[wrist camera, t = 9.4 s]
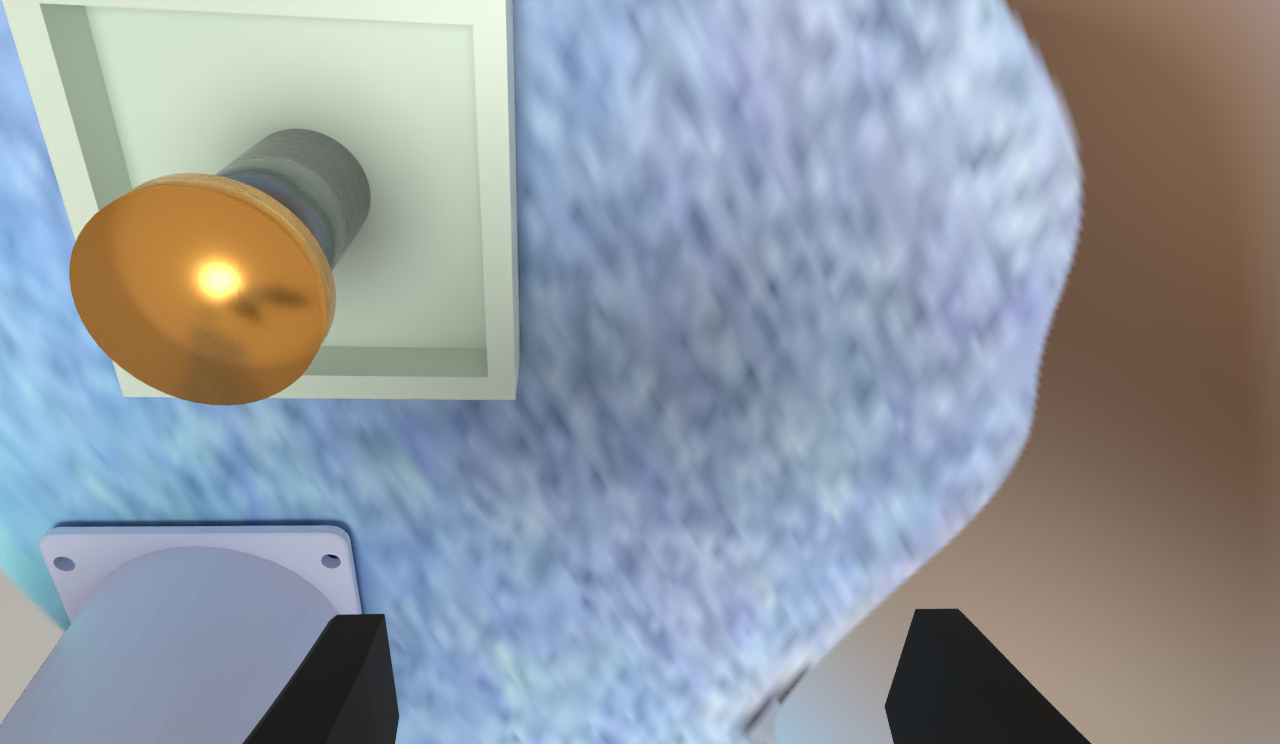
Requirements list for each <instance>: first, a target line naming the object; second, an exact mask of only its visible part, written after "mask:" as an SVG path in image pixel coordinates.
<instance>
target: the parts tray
mask: <svg viewBox="0 0 1280 744" xmlns="http://www.w3.org/2000/svg"><path fill="white" fill-rule="evenodd" d="M2 2H3V6H4V9H5V12H6V15H7V19H8V22H9V25H10V28H11V32H12V35H13V38H14V41H15V45H16V48H17V51H18V54H19V58H20V61H21V64H22V67H23V71H24V74H25V77H26V81H27V84H28V87H29V90H30V94H31V97H32V100H33V103H34V107H35V110H36V113H37V116H38V120H39V123H40V126H41V129H42V133H43V136H44V139H45V142H46V146H47V149H48V152H49V156H50V159H51V162H52V165H53V169H54V172H55V175H56V178H57V182H58V185H59V188H60V191H61V195H62V198H63V201H64V204H65V208H66V211H67V214H68V217H69V221H70V224H71V227H72V231H73V234H74V237H75V240H77V237H78V236H79V234H80V232H81V231H82V229H83V228H84V226H85V225H86V223H87V222H88V221H89V220H90V219H91V218H92V217H93V216H94V215H95V214H96V213H97V212H99V211H100V210H101V209H102V208H104V207H105V206H106V205H108V204H109V203H111V202H113V201H114V200H116V199H117V198H119V197H121V196H122V195H124V194H125V193H127V192H128V191H130V190H132V189H133V188H135V187H137V186H139V185H141V184H143V183H144V182H147V181H149V180H152V179H155V178H158V177H162V176H167V175H172V174H181V173H201V174H211V175H215V174H216V173H218V172H219V171H220V170H222V169H223V168H224V167H226V166H227V165H229V164H230V163H231V162H233V161H234V160H235V159H237V158H238V157H239V156H241V155H242V154H243V153H245V152H246V151H248V150H249V149H250V148H252V147H253V146H254V145H256V144H257V143H258V142H260V141H261V140H262V139H264V138H265V137H267V136H269V135H270V134H272V133H275V132H278V131H281V130H286V129H307V130H312V131H316V132H319V133H322V134H324V135H327V136H329V137H331V138H332V139H334V140H336V141H337V142H339V143H340V144H342V145H343V146H344V147H345V148H346V149H347V150H349V151H350V152H351V153H352V154H353V156H354V157H355V158H356V159H357V161H358V162H359V164H360V165H361V167H362V168H363V170H364V173H365V175H366V177H367V180H368V183H369V188H370V196H371V200H370V209H369V213H368V216H367V218H366V220H365V222H364V224H363V226H362V227H361V229H360V230H359V232H358V233H357V235H356V236H355V238H354V239H353V241H352V242H351V244H350V245H349V247H348V248H347V250H346V251H345V253H344V254H343V256H342V257H341V259H340V260H339V262H338V263H337V265H336V266H335V268H334V269H333V271H332V275H333V279H334V283H335V291H336V308H335V314H334V319H333V323H332V325H331V328H330V331H329V333H328V335H327V337H326V338H325V340H324V342H323V343H322V345H321V347H320V349H319V350H318V352H317V354H316V356H315V357H314V359H313V361H312V363H311V364H310V366H309V367H308V369H307V370H306V371H305V372H304V373H303V375H302V376H301V377H300V378H299V379H298V380H296V381H295V382H294V383H293V384H292V385H290V386H289V387H287V388H286V389H284V390H283V391H281V392H279V393H277V394H275V395H273V396H271V397H268V398H311V399H429V400H515V399H516V390H517V381H518V372H519V364H520V330H519V281H518V232H517V183H516V134H515V85H514V36H513V0H2ZM112 361H113V360H112ZM113 364H114V367H115V371H116V374H117V377H118V381H119V384H120V387H121V390H122V394H123V397H174V396H171V395H168V394H166V393H163V392H161V391H159V390H157V389H155V388H152V387H150V386H149V385H147V384H145V383H143V382H142V381H140V380H138V379H136V378H135V377H133V376H132V375H131V374H129V373H128V372H126V371H125V370H124V369H122V368H121V367H120V366H119V365H118V364H116V363H115V362H114V361H113Z"/></svg>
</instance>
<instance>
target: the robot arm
mask: <svg viewBox="0 0 1280 744" xmlns="http://www.w3.org/2000/svg"><path fill="white" fill-rule="evenodd" d="M39 546H40V551H41V553H42V555H43V558H44V560H45V563H46V565H47V568H48V570H49V572H50V575H51V577H52V580H53V582H54V584H55V587H56V589H57V592H58V594H59V597H60V599H61V601H62V604H63V606H64V609H65V611H66V614H67V616H68V618H69V621H70V623H71V625H70V626H69V628H68V629H67V630H66V632H65V633H64V635H63V636H62V638H61V639H60V640H59V642H58V643H57V645H56V646H55V647H54V649H53V650H52V652H51V653H50V655H49V656H48V657H47V659H46V660H45V662H44V663H43V665H42V666H41V667H40V669H39V670H38V672H37V673H36V674H35V676H34V677H33V679H32V680H31V682H30V683H29V685H28V686H27V687H26V689H25V690H24V692H23V693H22V694H21V696H20V697H19V699H18V700H17V701H16V703H15V704H14V706H13V707H12V709H11V710H10V711H9V713H8V714H7V716H6V717H5V719H4V720H3V721H2V723H1V724H0V744H395V740H396V733H397V727H398V720H399V712H398V705H397V698H396V691H395V684H394V677H393V670H392V663H391V656H390V649H389V642H388V635H387V628H386V622H385V615H384V614H362V610H361V604H360V597H359V591H358V585H357V579H356V572H355V566H354V560H353V554H352V547H351V541H350V538H349V535H348V533H346V532H345V531H344V530H343V529H341V528H339V527H337V526H330V525H318V526H143V527H57V528H53V529H51V530H49V531H48V532H47V533H46V534H45V535H44V537H43V538H42V539H41V541H40V543H39ZM328 554H331V555H335V556H337V557H339V558H337V559H334V558H330V557H329V556H327V555H328ZM65 557H67V558H69V559H71V560H72V561H70V560H68V559H66V558H65ZM885 710H886V714H887V718H888V722H889V726H890V730H891V734H892V738H893V742H894V744H1091V743H1090V742H1089V741H1088V740H1087V739H1086V738H1085V737H1084V736H1083V735H1082V734H1081V733H1080V732H1079V731H1077V729H1075V727H1074V726H1073V725H1072V724H1070V722H1069V721H1068V720H1067V719H1066V718H1065V717H1063V716H1062V715H1061V714H1060V713H1059V711H1058V710H1057V709H1055V707H1054V706H1053V705H1051V703H1050V702H1048V700H1046V698H1045V697H1044V696H1043V695H1042V694H1041V693H1040V692H1039V691H1038V690H1037V689H1036V688H1035V687H1034V686H1033V685H1032V684H1031V683H1030V682H1029V681H1028V680H1027V679H1026V678H1025V677H1024V676H1023V675H1022V674H1021V673H1020V672H1019V671H1018V670H1017V669H1016V668H1015V667H1014V666H1013V665H1012V664H1011V663H1010V662H1009V660H1007V659H1006V657H1005V656H1004V655H1003V654H1002V653H1001V652H1000V651H999V650H998V649H997V648H996V647H995V646H994V645H993V644H992V643H991V642H990V641H989V640H988V639H987V638H986V637H985V636H984V635H983V634H982V633H981V631H979V630H978V628H977V627H976V626H974V624H972V622H971V621H970V620H969V619H968V618H967V617H965V615H964V614H963V613H962V612H961V611H960V610H959V609H916V610H915V613H914V616H913V619H912V622H911V625H910V628H909V631H908V635H907V638H906V641H905V644H904V647H903V650H902V653H901V657H900V660H899V663H898V666H897V669H896V672H895V675H894V679H893V682H892V685H891V688H890V691H889V694H888V697H887V701H886V704H885Z"/></svg>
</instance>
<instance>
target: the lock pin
mask: <svg viewBox="0 0 1280 744" xmlns="http://www.w3.org/2000/svg"><path fill="white" fill-rule="evenodd" d="M370 200H371V196H370V188H369V183H368V180H367V177H366V175H365V173H364V170H363V168H362V167H361V165H360V164H359V162H358V161H357V159H356V158H355V157H354V156H353V154H352V153H351V152H350V151H349V150H347V149H346V148H345V147H344V146H343V145H342V144H340V143H339V142H337V141H336V140H334V139H332V138H331V137H329V136H327V135H324V134H322V133H319V132H316V131H312V130H307V129H286V130H281V131H278V132H275V133H272V134H270V135H269V136H267V137H265V138H264V139H262V140H261V141H260V142H258V143H257V144H256V145H254V146H253V147H252V148H250V149H249V150H248V151H246V152H245V153H243V154H242V155H241V156H239V157H238V158H237V159H235V160H234V161H233V162H231V163H230V164H229V165H227V166H226V167H224V168H223V169H222V170H220V171H219V172H218V173H216V174H215V175H211V174H201V173H181V174H172V175H167V176H162V177H158V178H155V179H152V180H149V181H147V182H144V183H143V184H141V185H139V186H137V187H135V188H133V189H132V190H130V191H128V192H127V193H125V194H124V195H122V196H121V197H119V198H117V199H116V200H114V201H113V202H111V203H109V204H108V205H106V206H105V207H104V208H102V209H101V210H100V211H99V212H97V213H96V214H95V215H94V216H93V217H92V218H91V219H90V220H89V221H88V222H87V223H86V225H85V226H84V228H83V229H82V231H81V232H80V234H79V236H78V237H77V240H76V242H75V245H74V247H73V251H72V255H71V260H70V285H71V292H72V296H73V299H74V303H75V306H76V309H77V311H78V313H79V315H80V318H81V320H82V322H83V323H84V325H85V327H86V329H87V330H88V332H89V334H90V335H91V336H92V338H93V339H94V340H95V342H96V343H97V344H98V345H99V347H100V348H101V349H102V350H103V351H104V352H105V353H106V354H107V355H108V356H109V357H110V358H111V359H112V360H113V361H114V362H115V363H116V364H118V365H119V366H120V367H121V368H122V369H124V370H125V371H126V372H128V373H129V374H131V375H132V376H133V377H135V378H136V379H138V380H140V381H142V382H143V383H145V384H147V385H149V386H150V387H152V388H155V389H157V390H159V391H161V392H163V393H166V394H168V395H171V396H174V397H177V398H180V399H184V400H188V401H192V402H196V403H203V404H211V405H237V404H245V403H251V402H256V401H259V400H262V399H265V398H268V397H271V396H273V395H275V394H277V393H279V392H281V391H283V390H284V389H286V388H287V387H289V386H290V385H292V384H293V383H294V382H295V381H296V380H298V379H299V378H300V377H301V376H302V375H303V373H304V372H305V371H306V370H307V369H308V367H309V366H310V364H311V363H312V361H313V359H314V357H315V356H316V354H317V352H318V350H319V349H320V347H321V345H322V343H323V342H324V340H325V338H326V337H327V335H328V333H329V331H330V328H331V325H332V323H333V319H334V314H335V308H336V291H335V283H334V279H333V275H332V271H333V269H334V268H335V266H336V265H337V263H338V262H339V260H340V259H341V257H342V256H343V254H344V253H345V251H346V250H347V248H348V247H349V245H350V244H351V242H352V241H353V239H354V238H355V236H356V235H357V233H358V232H359V230H360V229H361V227H362V226H363V224H364V222H365V220H366V218H367V216H368V213H369V209H370Z"/></svg>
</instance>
